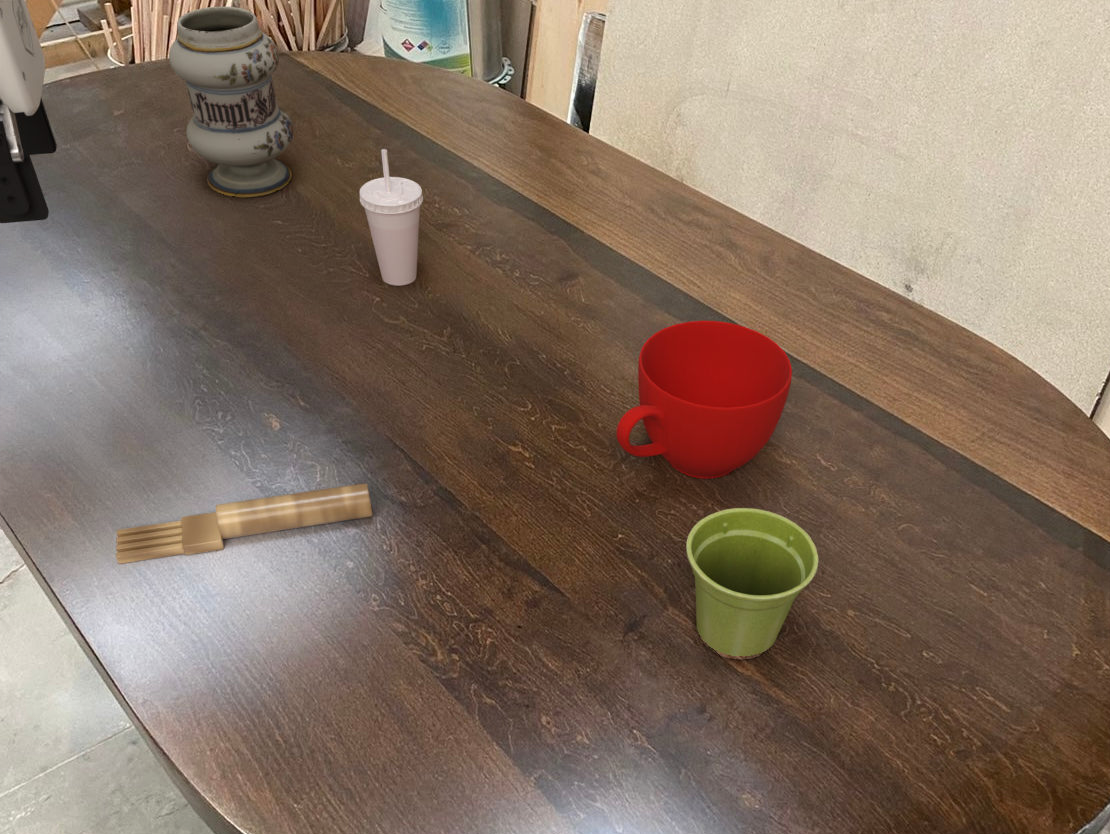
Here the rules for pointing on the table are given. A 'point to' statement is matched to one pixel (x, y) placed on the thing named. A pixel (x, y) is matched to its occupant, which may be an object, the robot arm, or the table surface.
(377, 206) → the smoothie
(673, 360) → the ceramic cup
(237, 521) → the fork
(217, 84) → the apothecary jar
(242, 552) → the table surface
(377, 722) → the table surface
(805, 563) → the plant pot
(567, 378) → the table surface
